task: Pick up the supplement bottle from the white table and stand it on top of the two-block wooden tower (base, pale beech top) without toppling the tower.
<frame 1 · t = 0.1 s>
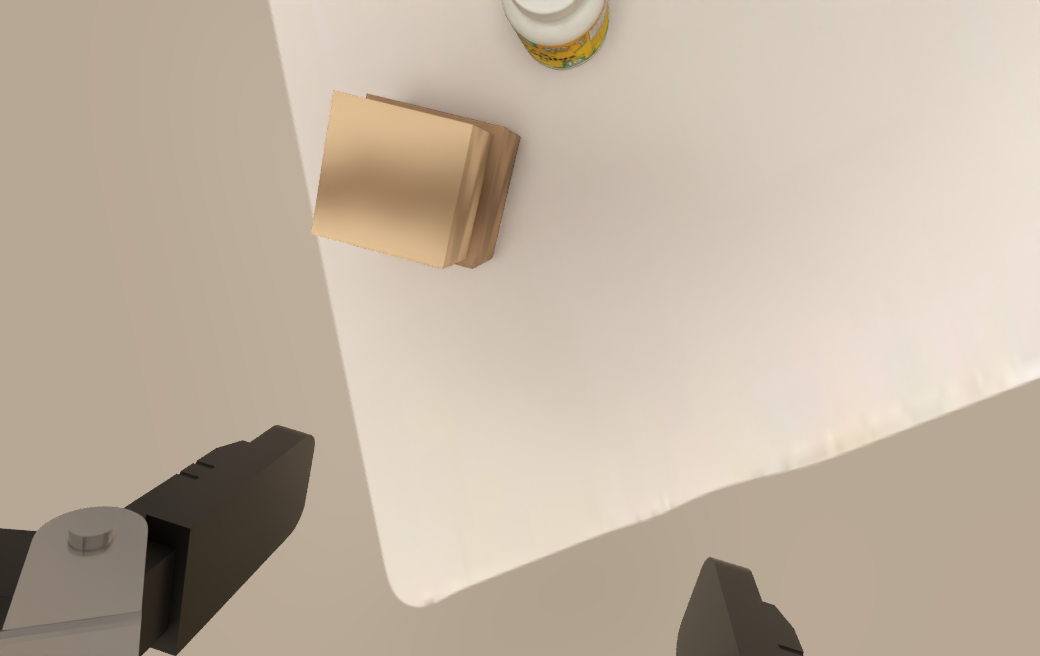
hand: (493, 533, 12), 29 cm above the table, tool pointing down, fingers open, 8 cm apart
tower base: (448, 184, 40), on the table, touching tower top
supplement bottle: (564, 25, 37), on the table
tower top: (420, 183, 34), point 6 cm above the table, touching tower base
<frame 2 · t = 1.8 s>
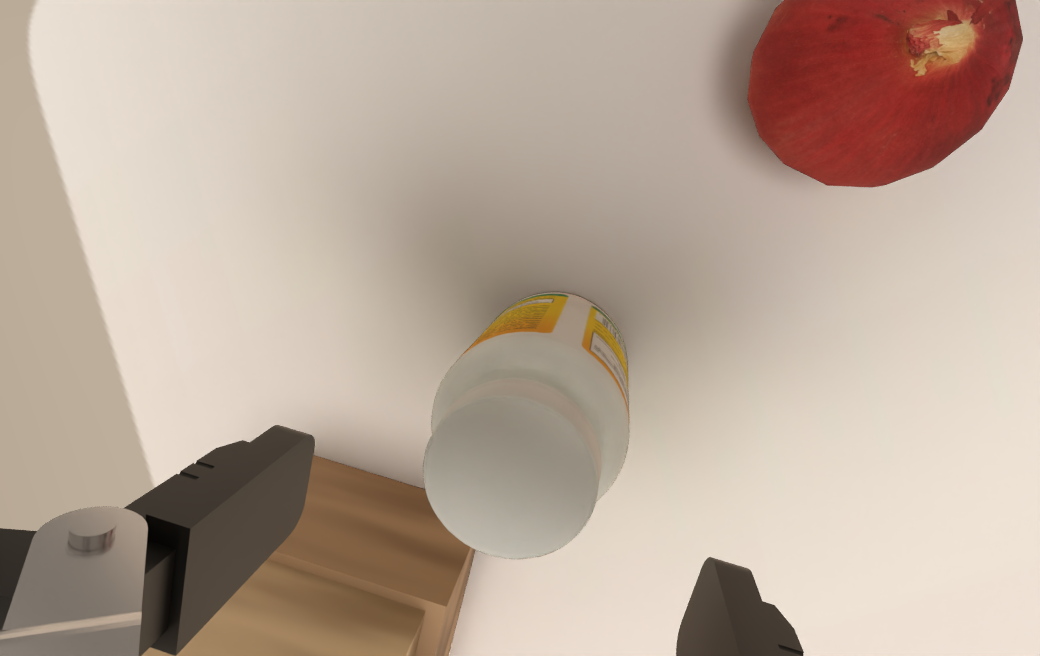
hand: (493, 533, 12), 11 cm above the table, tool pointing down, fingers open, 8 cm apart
tower base: (378, 558, 26), on the table, touching tower top
supplement bottle: (554, 357, 23), on the table
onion: (821, 92, 19), on the table
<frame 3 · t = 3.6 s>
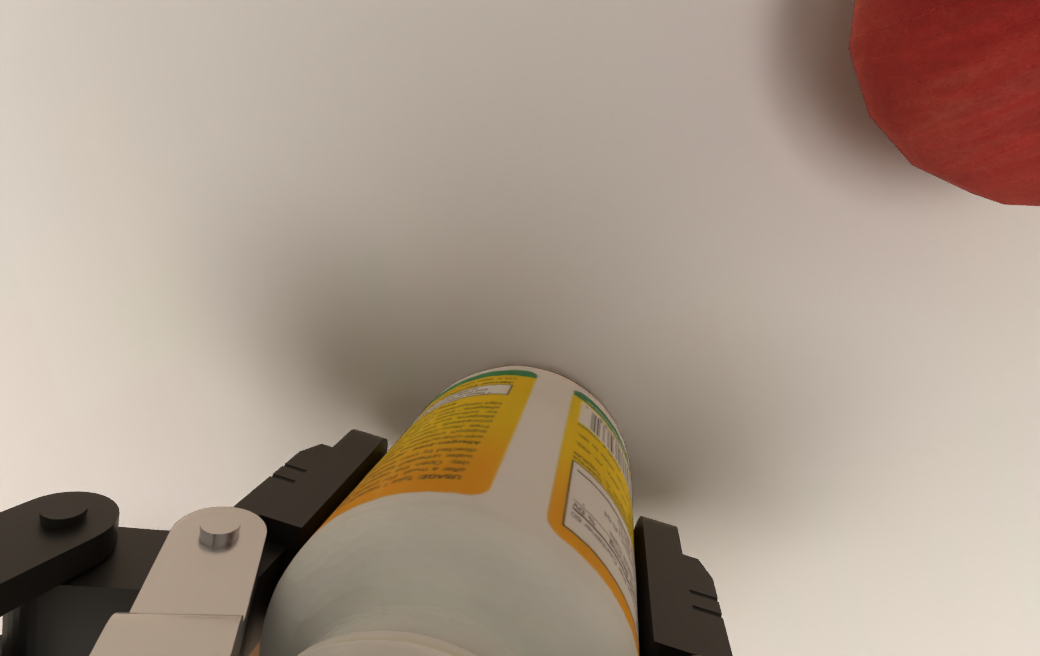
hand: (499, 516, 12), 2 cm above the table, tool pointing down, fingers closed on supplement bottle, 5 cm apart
supplement bottle: (519, 459, 15), on the table, touching gripper
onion: (947, 50, 12), on the table
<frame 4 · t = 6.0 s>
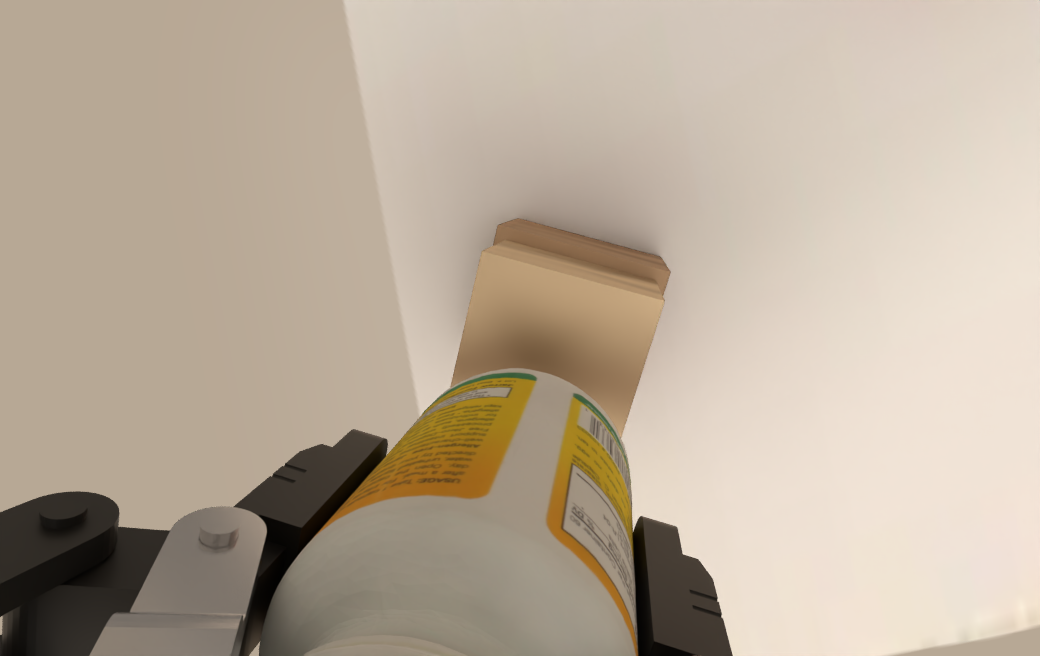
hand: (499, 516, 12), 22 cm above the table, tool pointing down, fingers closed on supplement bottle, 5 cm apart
tower base: (569, 306, 34), on the table, touching tower top
supplement bottle: (519, 462, 15), point 19 cm above the table, touching gripper
tower top: (559, 332, 28), point 6 cm above the table, touching tower base
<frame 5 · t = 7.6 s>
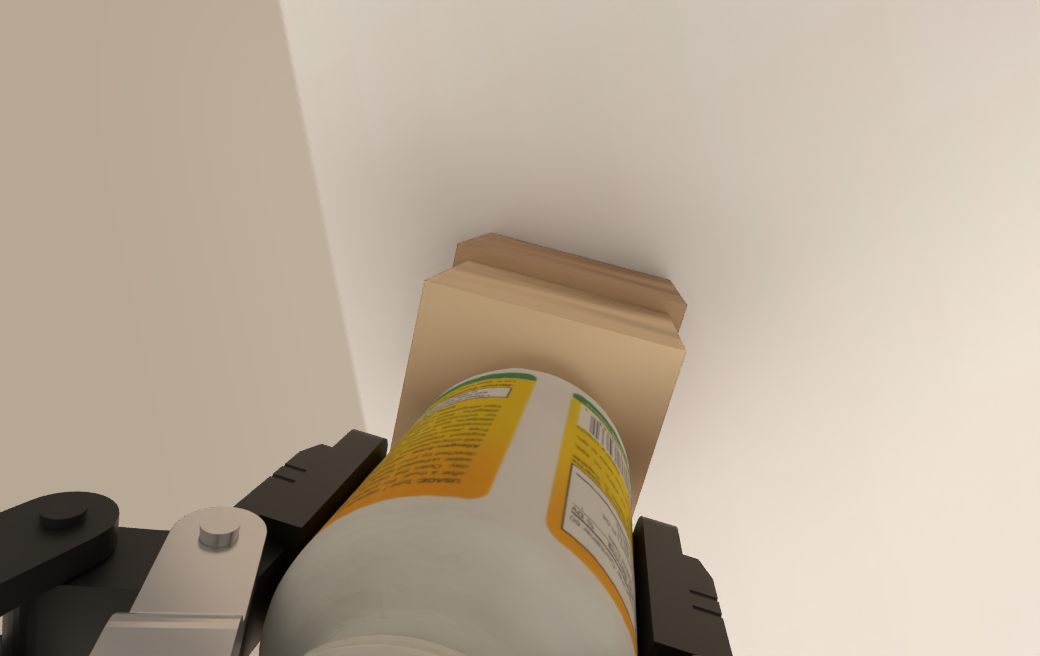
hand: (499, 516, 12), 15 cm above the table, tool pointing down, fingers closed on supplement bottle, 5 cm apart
tower base: (556, 342, 27), on the table, touching tower top
supplement bottle: (519, 462, 15), point 12 cm above the table, touching gripper
tower top: (541, 381, 21), point 6 cm above the table, touching tower base
when the fingers open (15 cm above the table, at t = 8.7 s): supplement bottle drops 1 cm, resting on tower top.
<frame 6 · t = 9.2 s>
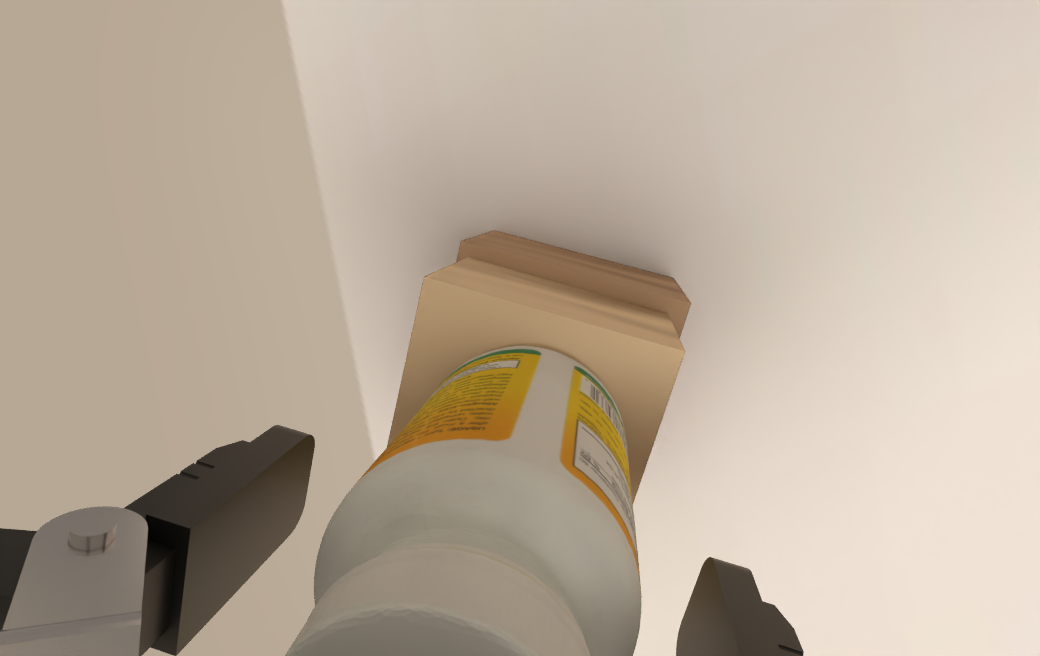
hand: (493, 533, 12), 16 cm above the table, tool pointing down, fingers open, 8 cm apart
tower base: (559, 340, 27), on the table, touching tower top
supplement bottle: (524, 433, 16), point 11 cm above the table, touching tower top
tower top: (539, 379, 21), point 6 cm above the table, touching supplement bottle, tower base
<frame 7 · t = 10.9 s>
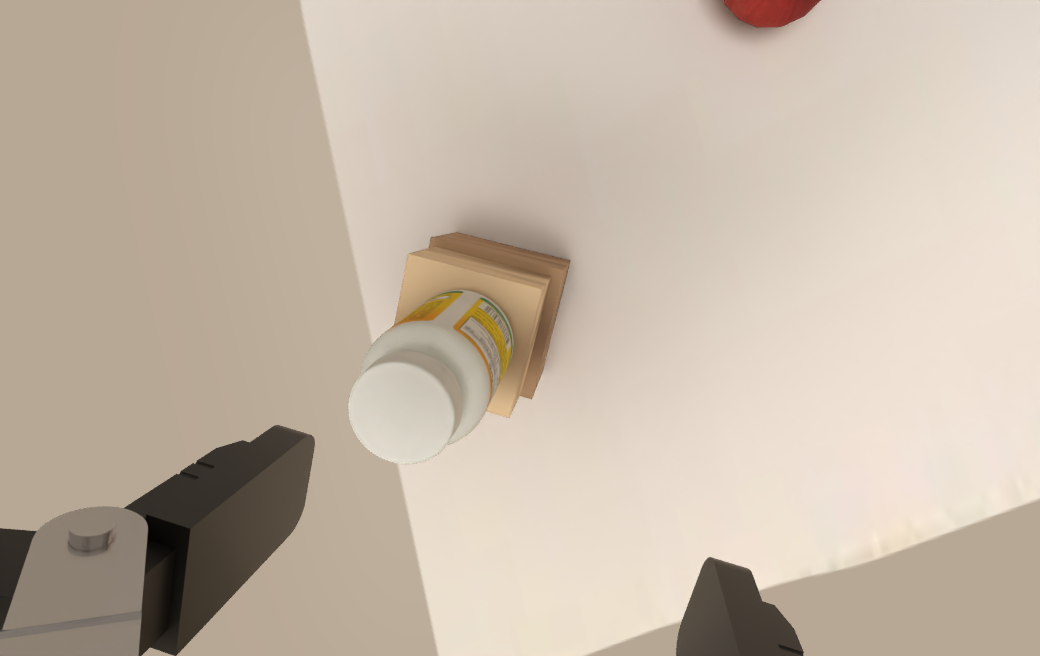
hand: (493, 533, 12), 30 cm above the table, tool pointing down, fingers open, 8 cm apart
tower base: (500, 302, 41), on the table, touching tower top
supplement bottle: (463, 337, 31), point 11 cm above the table, touching tower top
tower top: (479, 318, 35), point 6 cm above the table, touching supplement bottle, tower base
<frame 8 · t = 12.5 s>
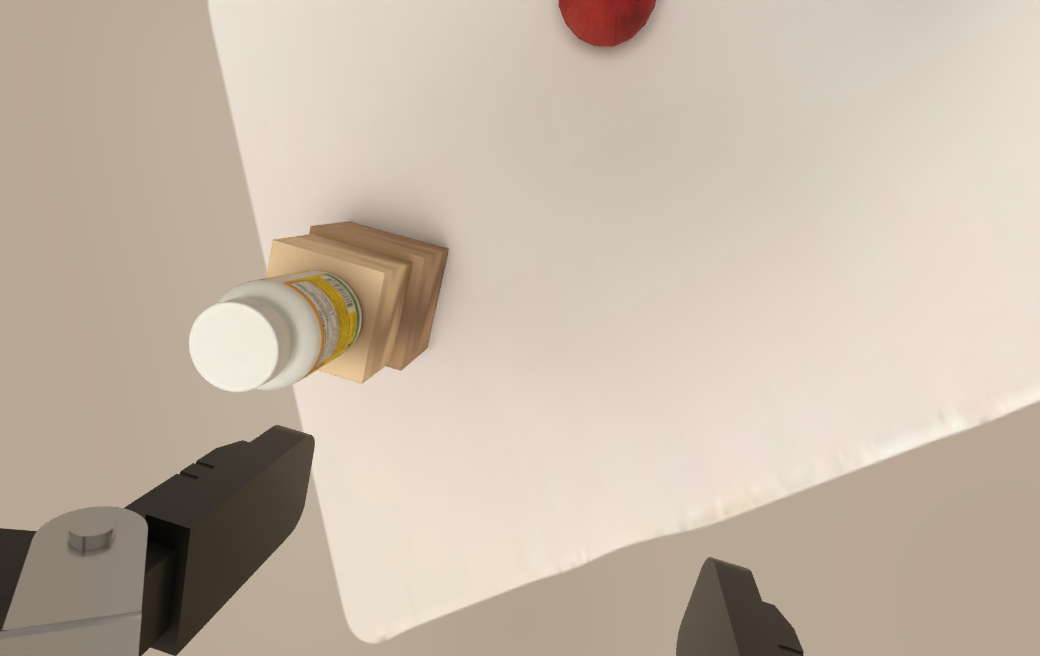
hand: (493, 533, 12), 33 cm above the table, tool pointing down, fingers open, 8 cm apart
tower base: (388, 285, 46), on the table, touching tower top
supplement bottle: (320, 314, 35), point 11 cm above the table, touching tower top
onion: (608, 11, 40), on the table
tower top: (353, 298, 40), point 6 cm above the table, touching supplement bottle, tower base
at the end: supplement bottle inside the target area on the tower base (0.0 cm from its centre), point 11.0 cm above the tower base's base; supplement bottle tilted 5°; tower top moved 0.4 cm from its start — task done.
